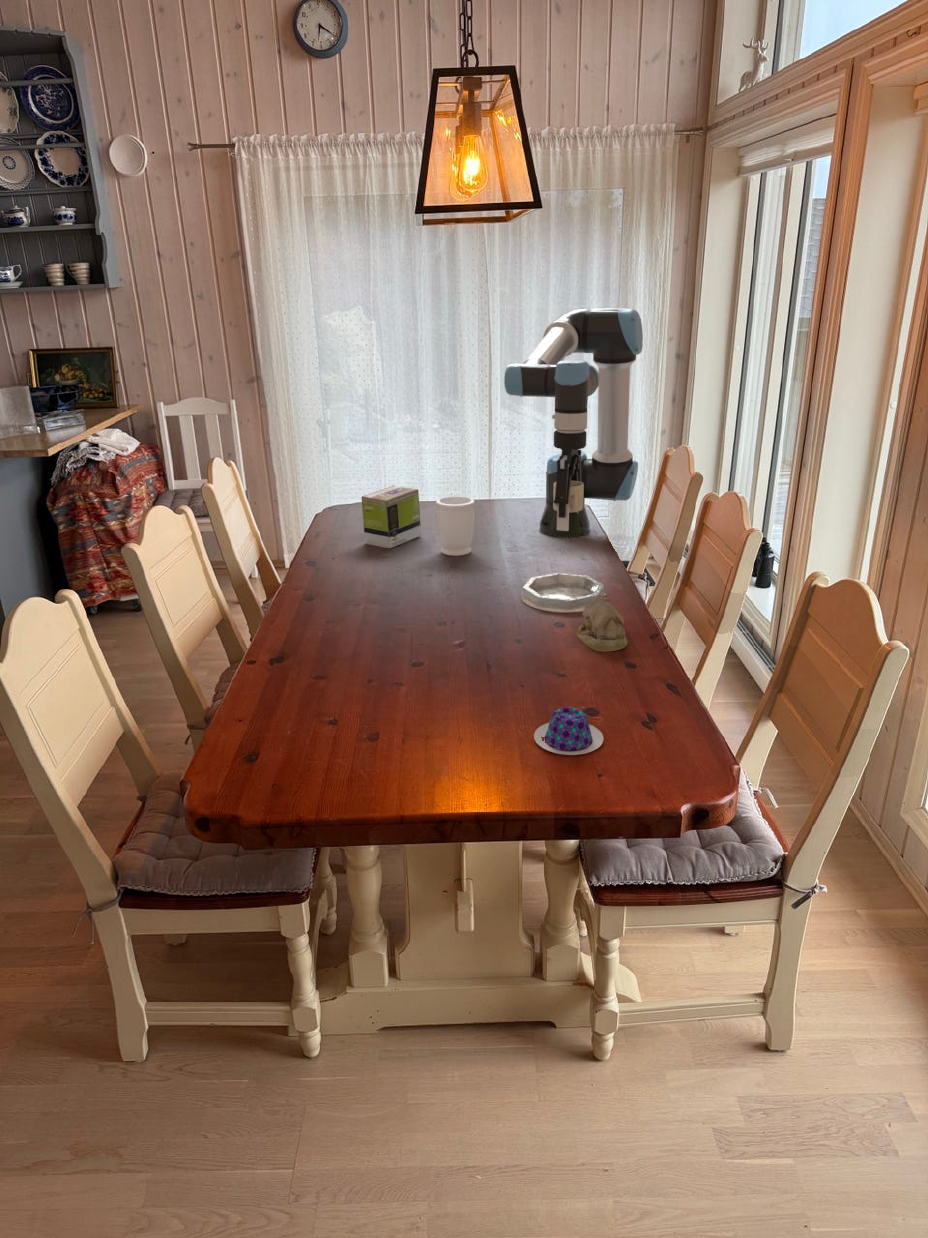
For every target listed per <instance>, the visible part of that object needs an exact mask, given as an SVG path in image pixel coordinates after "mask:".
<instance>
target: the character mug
mask: <svg viewBox="0 0 928 1238" xmlns="http://www.w3.org/2000/svg"><path fill="white" fill-rule="evenodd" d="M555 492H556V482H555V483H554V490H553V497H554V500H555ZM583 494H584V484H583V483H582V482H579V481H571V484H570V491H569V499H568V503H569V530H568V531H561V530H557V518H556V523H555V530H554V534H555V532H556V536H555V537H558V538H564V539H566V538H568V539H571V538H572V537H578V535H580V522H579V515H578V513H577V512H578V511H581V510H582V509H583ZM560 498H562V497H560ZM554 500H553V508H554V510H556V511H557V503H554ZM580 536H581V535H580Z"/></svg>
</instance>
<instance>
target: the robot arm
mask: <svg viewBox="0 0 928 1238" xmlns="http://www.w3.org/2000/svg"><path fill="white" fill-rule="evenodd" d="M643 336H644V334H643V324H642V318H641V315H640V313H639V312H638V311H637V310H636V309H634V308H625V307H624V308H623V307H605V308H603V307H600V308H599V307H598V308H587V307H586V308H577V309H574V310H571V311H568V312H566V313H564V314H562V315H560V316H559V317H557V318H555V319H554V320H553V321H551V323H550V324H549V325H548V326H547V327H546V328H545V330H544V332H543V339H541V341H540V342H539V343H538V344H537V346H536V347H535V348H534V349H533V350H532V351H531V353H530V354H529V356H528V357H527V358H526V360H525V361H524V362H523V363H519V362H517V363H510V364H508V365H507V366H506V369H505V371H504V378H503V380H504V382H503V383H504V390H505V392H506V393H507V394H508V395H509V396H516V397H520V398H521V397H538V398H540V397H541V398H543V397H544V398H554V414H552V416H551V419H552V420H554V421H553V422H554V423H553V424H554V425H553V427H554V429H555V430H554V432H553V447H554V448H556V449H558V450H559V449H560V450H561V453H558V454H555V455H553V456H551V457H549V458H548V460H547V462H546V471H545V479H546V480H545V483H546V484H545V506H544V510H543V513H542V516H541V519H540V521H539V531H540V532H541V533H542V534H545V535H547V536H552V537H557V536H556V532H555V534H554V530H555V523H556V518H557V530H561V531H568V530H569V503H568V499H569V491H570V484H571V481H579V482H582V483H583V484H584V494H583V509H582V510H581V511H578V512H577V513H578V515H579V522H580V535H578V536H579V537H580V536H584V535H587V534H588V533H589V532H590V520H589V516H588V513H587V510H586V507H585V506H586V505H585V503H586V502H585V500H586V499H589V500H590V499H591V500H592V499H594V500H603V501H613V502H616V501H622V502H623V501H628V500H630V499H631V497H632V496H633V495H632V494H633V492H634V489H635V485H636V481H637V478H638V477H637V476H638V472H639V462H638V461H637V460H633V457H634V456H633V452H632V451H630V450H629V449H628V445H629V444H628V443H629V440H628V439H629V414H630V413H629V412H630V411H629V410H630V386H631V385H630V379H631V378H630V376H631V366H632V364H634V363H635V361H636V360H637V355H640V354H641V353H642V351H643V346H644V345H643V344H644V343H643V341H644V340H643V339H644V337H643ZM576 353H578V354H592V356H593V357H592V361H593V363H594V364H595V365H596V366H597V367H598V369H597V368H596V367H595V366H594V365H592V364H589V363H588V361H586V360H583V359H566V357H569V356H571V355H572V354H576ZM596 391H597V393H598V395H597V396H598V397H597V399H598V400H597V449H596V450H595V451H594V452H593V453H592V455H591V458H587V457H588V456H587V453H585V452H582V450H583V449H584V448H586V446H587V431H586V429H587V428H588V403H589V402H588V399H589V397H590V396H592V395H593V394H594V393H595V392H596ZM555 482H556V492H555V500H554V497H553V490H554V483H555ZM560 497H562V498H560ZM553 500H554V503H557V511H556V510H554V508H553ZM578 536H577V537H578Z"/></svg>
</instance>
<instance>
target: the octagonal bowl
mask: <svg viewBox="0 0 928 1238" xmlns="http://www.w3.org/2000/svg"><path fill="white" fill-rule="evenodd" d="M599 595H601V596H603V595H607V594H606V592H605V584H603V583H601V582H600V581H598V580H596V579H594V578H593V577H591V576H589V575H585V574H574V573H573V574H572V573H564V572H554V573H549V574H543V575H538V576H537V575H536V576H531V577H530V579H529V580H528V581H527V582H526V584H524V585H523V587H522V591H521V593H520V600H521V601H522V603H524V604H525V605H526V606H528V607H530V608H532V609H535V610H538V611H542V612H546V613H547V612H548V613H557V614H576V613H583V610H584V609H585V607H586V606H587V605H588V603H590V602H591V601H592V600H594V599H595V598H596V597H597V596H599Z"/></svg>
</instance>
